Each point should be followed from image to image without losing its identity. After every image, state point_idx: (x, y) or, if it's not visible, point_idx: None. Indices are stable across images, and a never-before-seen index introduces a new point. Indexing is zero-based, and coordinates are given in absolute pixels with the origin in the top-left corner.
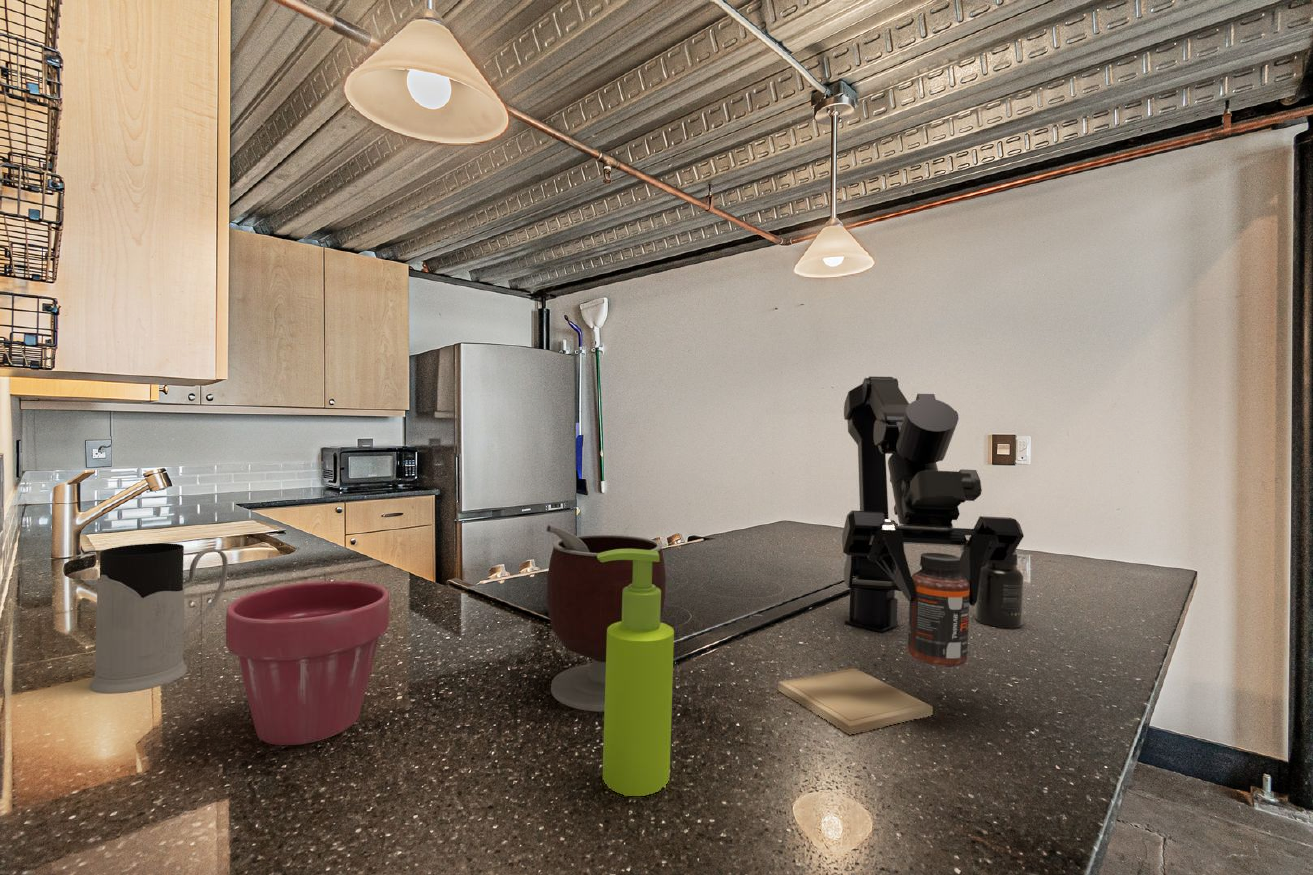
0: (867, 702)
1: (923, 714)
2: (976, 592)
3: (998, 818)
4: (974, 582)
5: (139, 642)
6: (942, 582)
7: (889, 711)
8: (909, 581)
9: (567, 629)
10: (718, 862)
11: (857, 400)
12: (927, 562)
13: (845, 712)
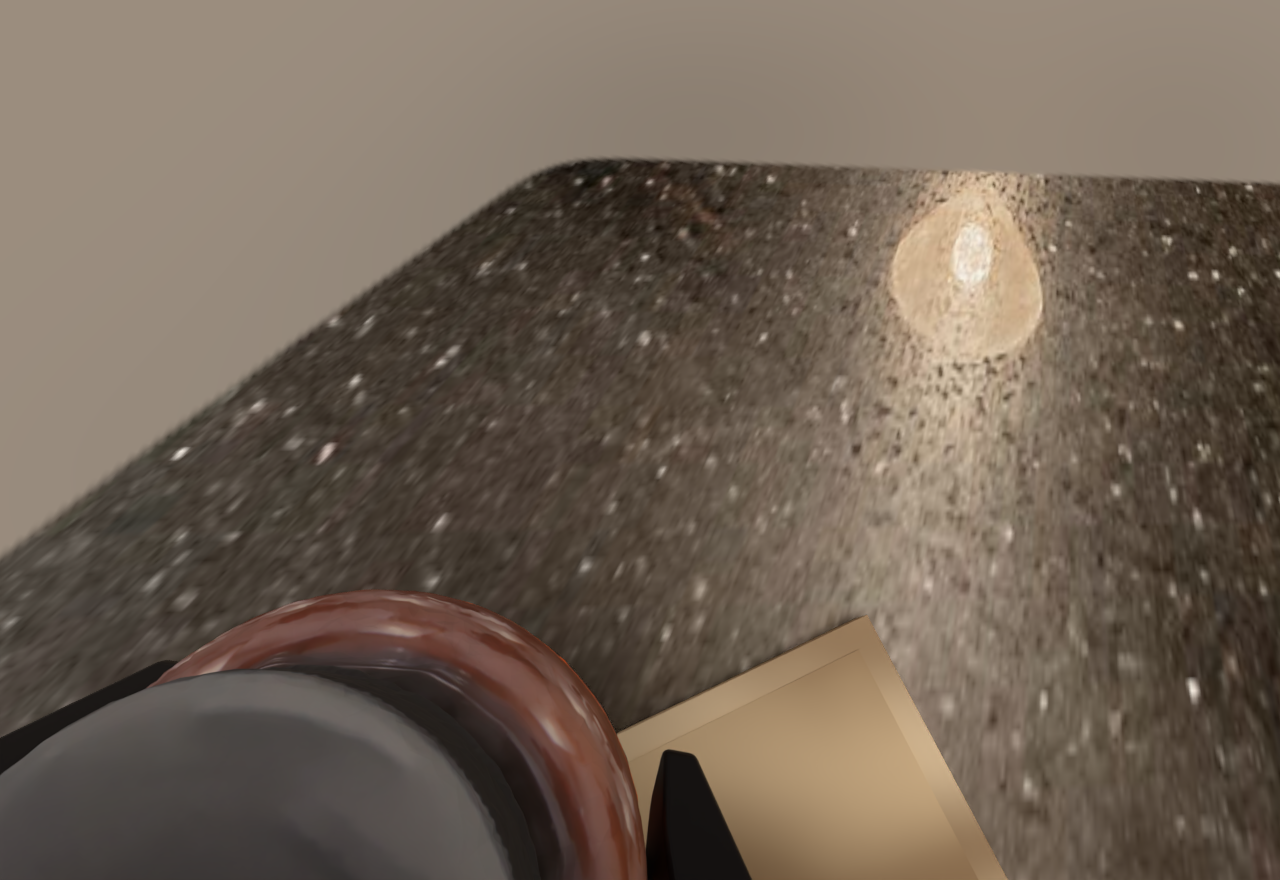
0: (755, 811)
1: None
2: (96, 701)
3: (630, 266)
4: (4, 770)
5: None
6: (458, 624)
7: (698, 730)
8: (699, 867)
9: None
10: (1165, 182)
11: None
12: (517, 840)
13: (861, 714)
